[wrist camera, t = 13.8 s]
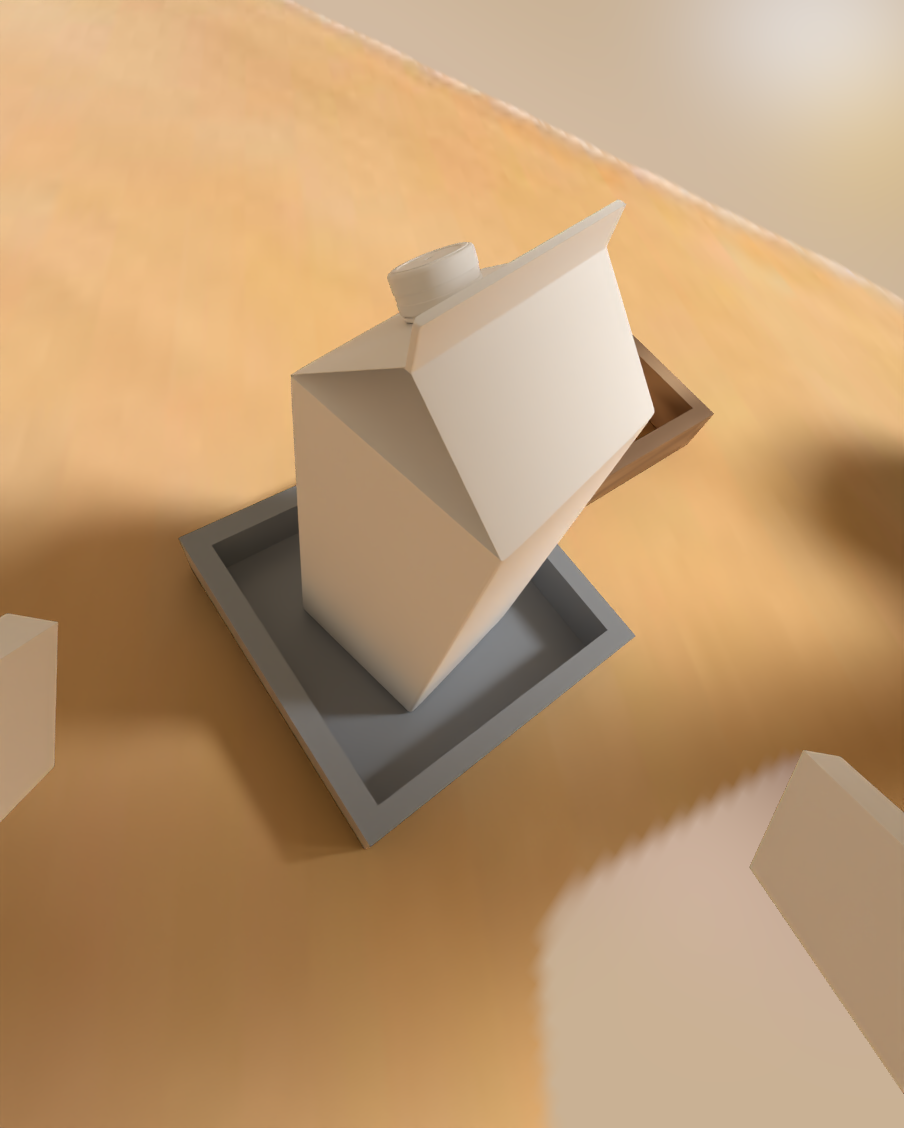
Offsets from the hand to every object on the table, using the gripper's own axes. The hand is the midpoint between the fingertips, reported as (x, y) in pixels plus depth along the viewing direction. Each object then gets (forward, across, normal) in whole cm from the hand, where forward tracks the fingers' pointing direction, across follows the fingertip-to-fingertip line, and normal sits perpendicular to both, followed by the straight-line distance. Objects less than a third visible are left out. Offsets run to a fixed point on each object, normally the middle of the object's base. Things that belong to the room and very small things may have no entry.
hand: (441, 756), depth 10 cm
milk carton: (+18, 0, -5) cm, 18 cm away
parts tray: (+18, 0, -5) cm, 19 cm away
